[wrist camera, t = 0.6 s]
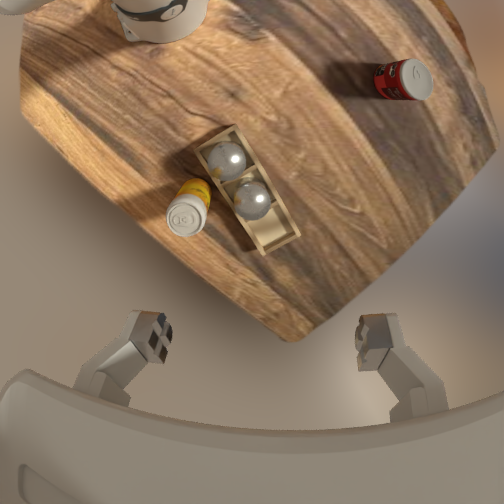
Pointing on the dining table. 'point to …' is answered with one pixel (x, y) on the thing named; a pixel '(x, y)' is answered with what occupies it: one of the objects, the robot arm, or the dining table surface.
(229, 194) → the compartment tray
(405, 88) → the canned food
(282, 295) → the dining table surface
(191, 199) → the beer can
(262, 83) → the dining table surface
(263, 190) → the seated canisters
